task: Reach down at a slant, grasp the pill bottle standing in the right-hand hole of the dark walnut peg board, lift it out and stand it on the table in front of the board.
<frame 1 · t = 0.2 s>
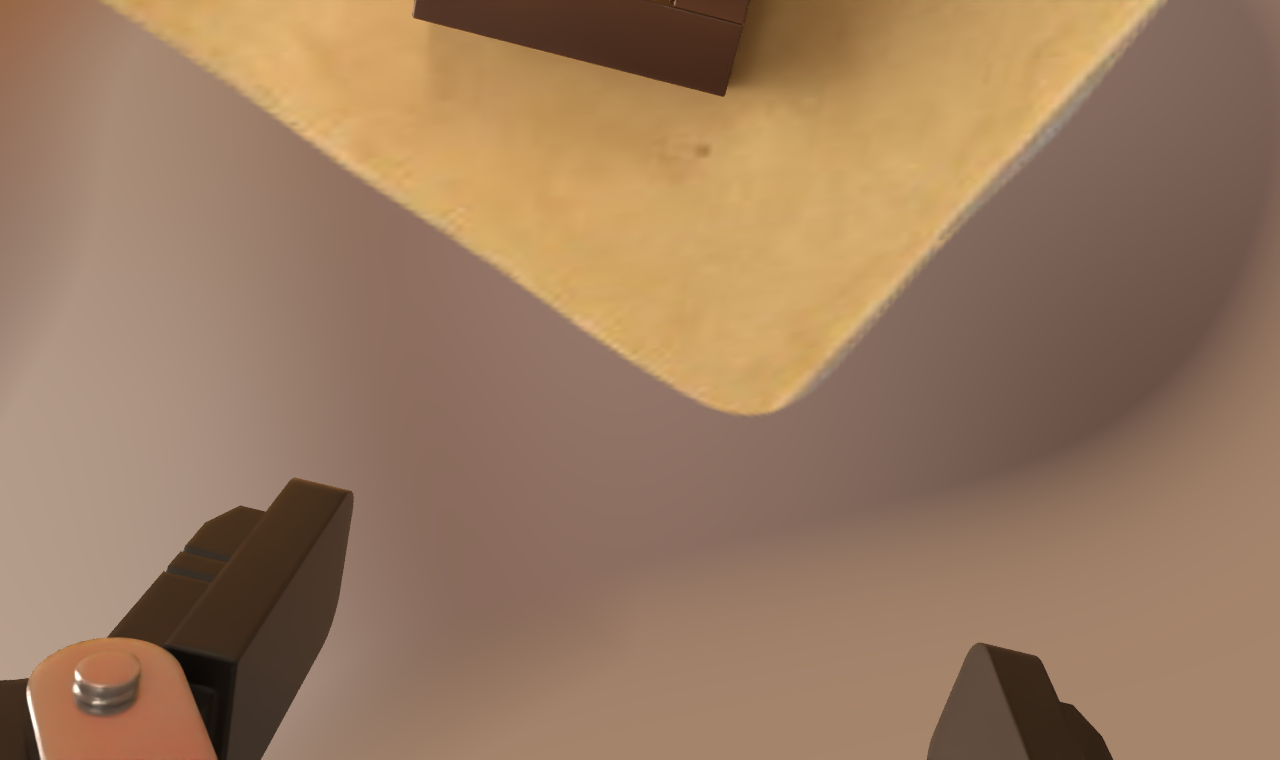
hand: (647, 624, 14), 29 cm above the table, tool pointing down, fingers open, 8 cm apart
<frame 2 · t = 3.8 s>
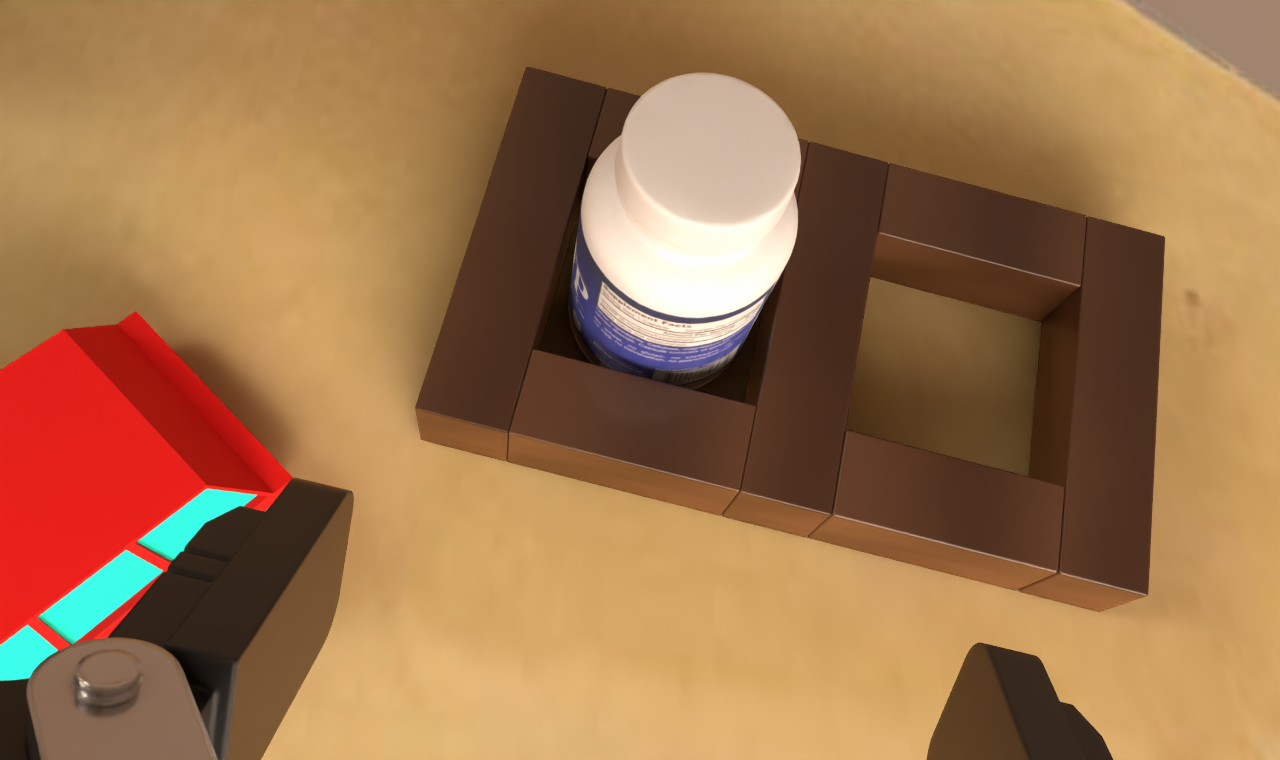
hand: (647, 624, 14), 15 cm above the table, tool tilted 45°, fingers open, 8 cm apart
pill bottle: (655, 317, 32), resting in peg board
toy car: (27, 566, 28), on the table
peg board: (796, 351, 32), on the table
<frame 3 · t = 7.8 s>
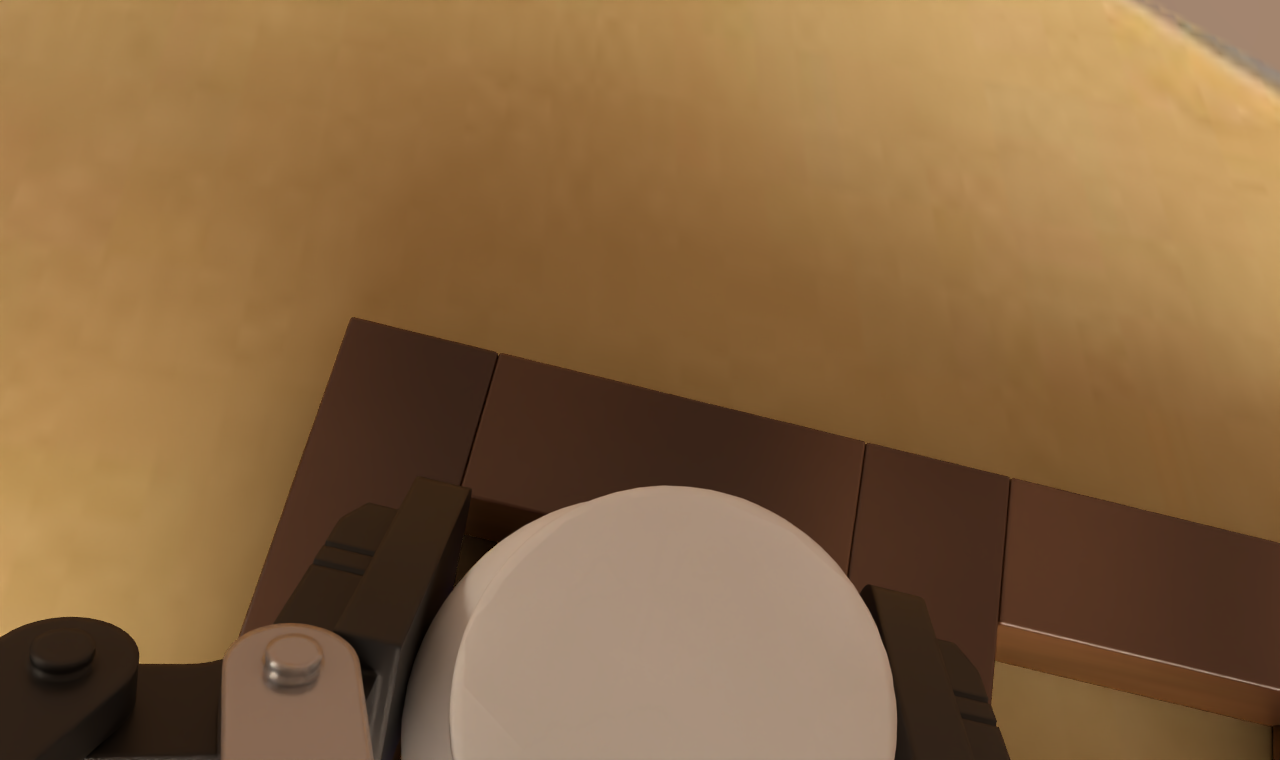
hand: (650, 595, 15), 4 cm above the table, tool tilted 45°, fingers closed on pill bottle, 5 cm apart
pill bottle: (594, 757, 18), resting in peg board, touching gripper
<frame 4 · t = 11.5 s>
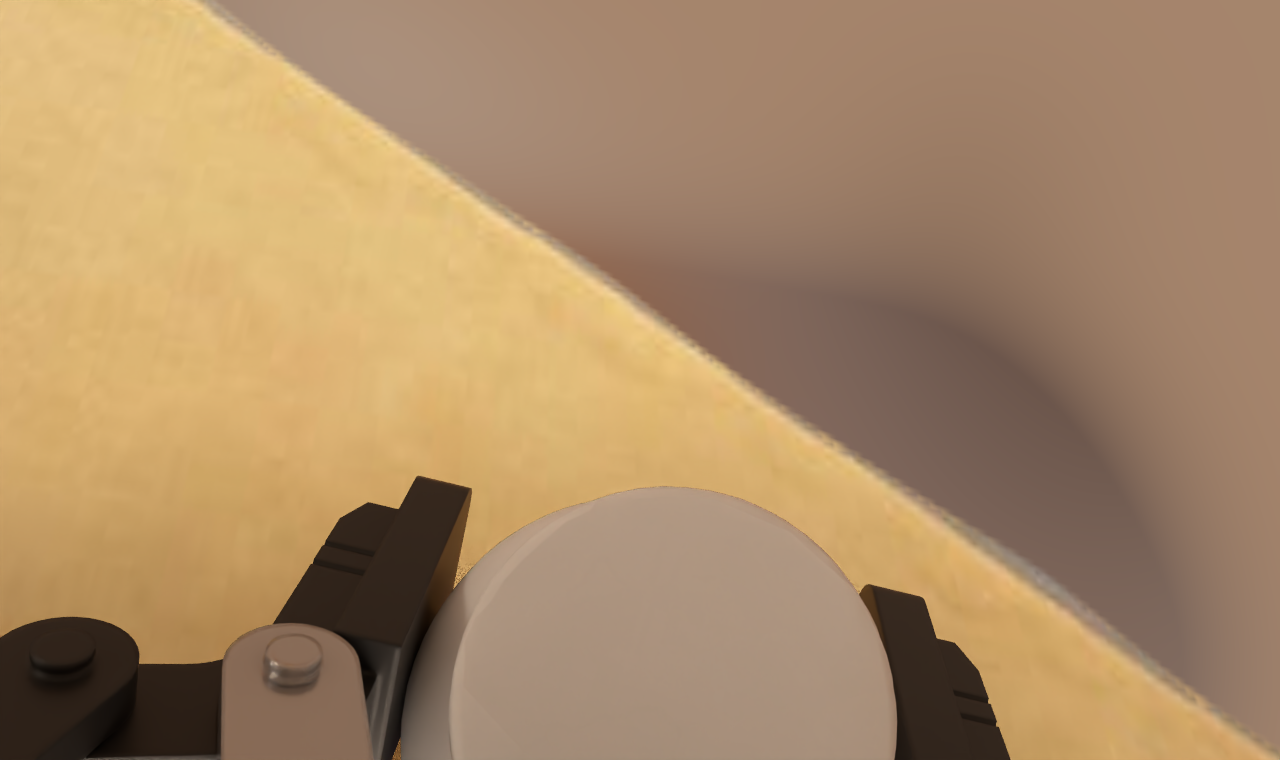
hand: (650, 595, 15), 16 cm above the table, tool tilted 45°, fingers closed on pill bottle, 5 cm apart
pill bottle: (594, 757, 18), point 12 cm above the table, touching gripper
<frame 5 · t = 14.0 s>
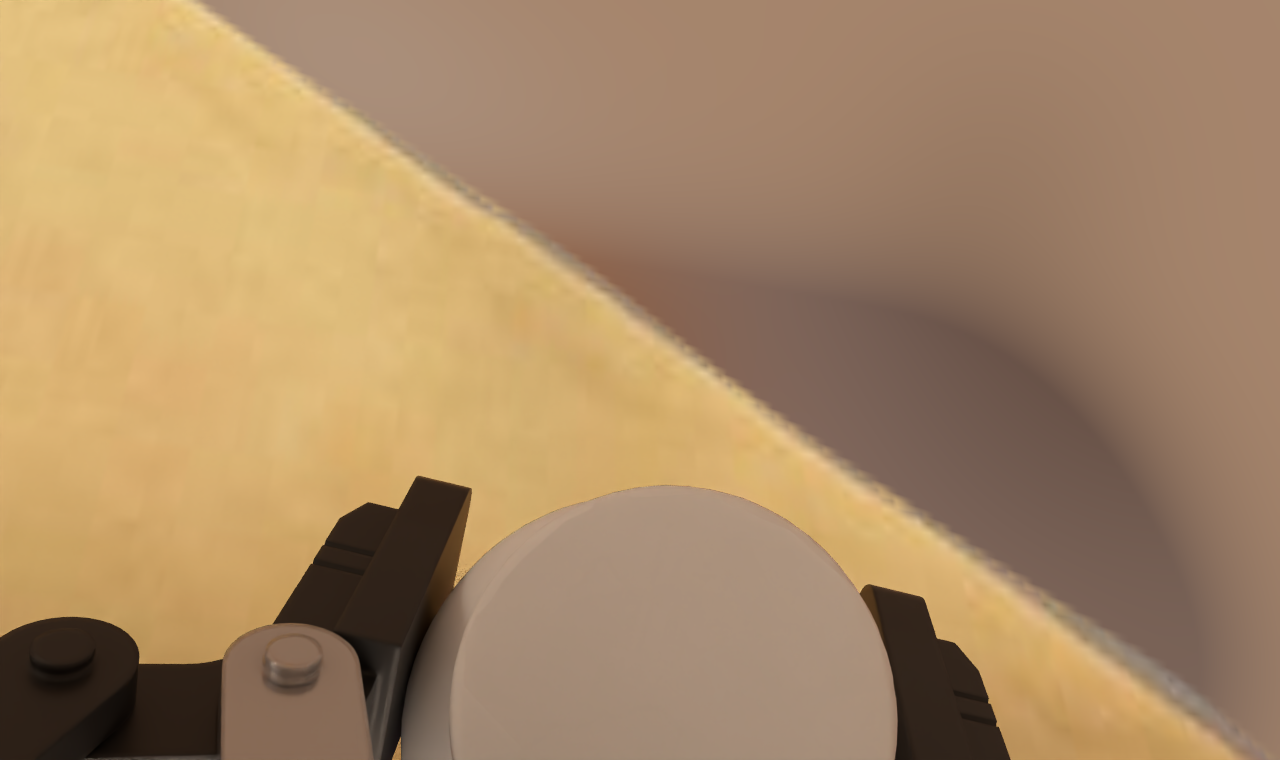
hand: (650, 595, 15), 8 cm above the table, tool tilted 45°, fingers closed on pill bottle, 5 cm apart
pill bottle: (594, 757, 18), point 4 cm above the table, touching gripper
when the fingers open (4 cm above the table, at t = 15.6 s): pill bottle stays where it is, on the table.
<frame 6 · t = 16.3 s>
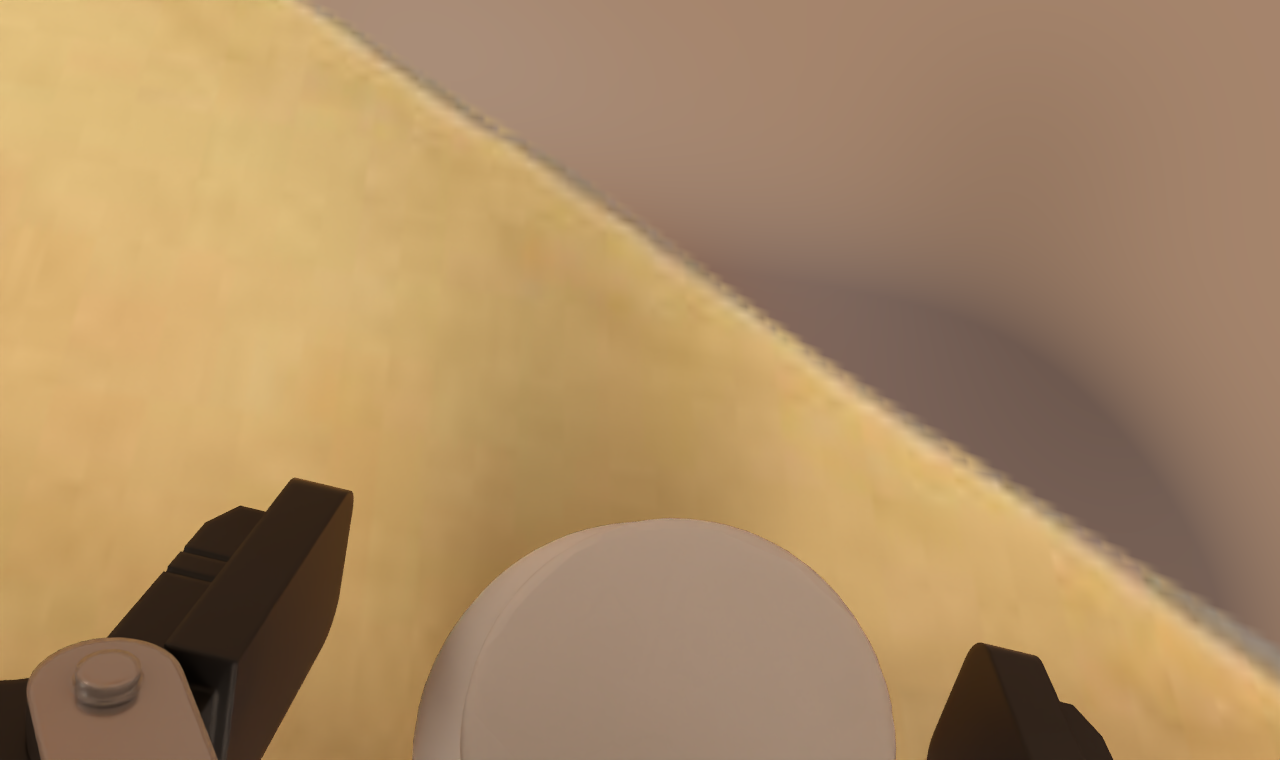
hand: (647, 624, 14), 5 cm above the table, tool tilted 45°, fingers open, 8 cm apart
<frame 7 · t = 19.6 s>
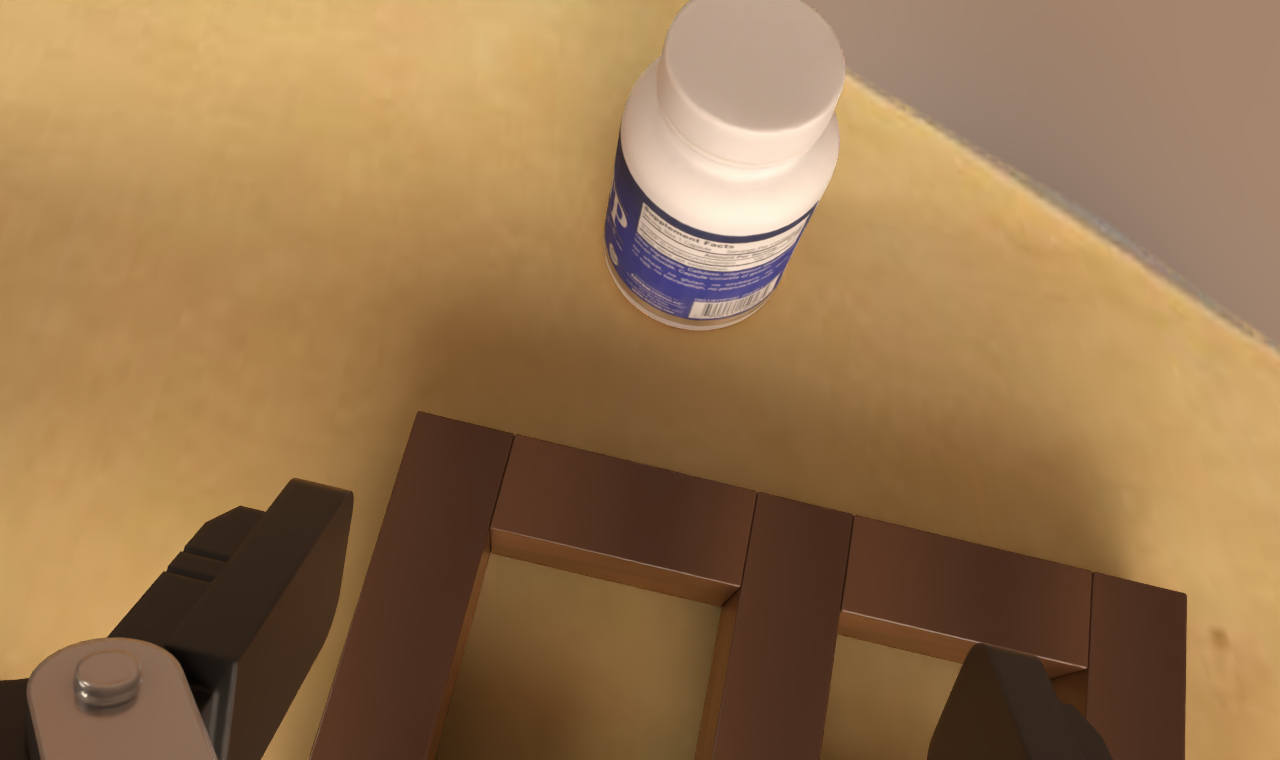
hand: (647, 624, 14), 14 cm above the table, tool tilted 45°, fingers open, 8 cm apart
pill bottle: (691, 255, 32), on the table
peg board: (747, 739, 27), on the table
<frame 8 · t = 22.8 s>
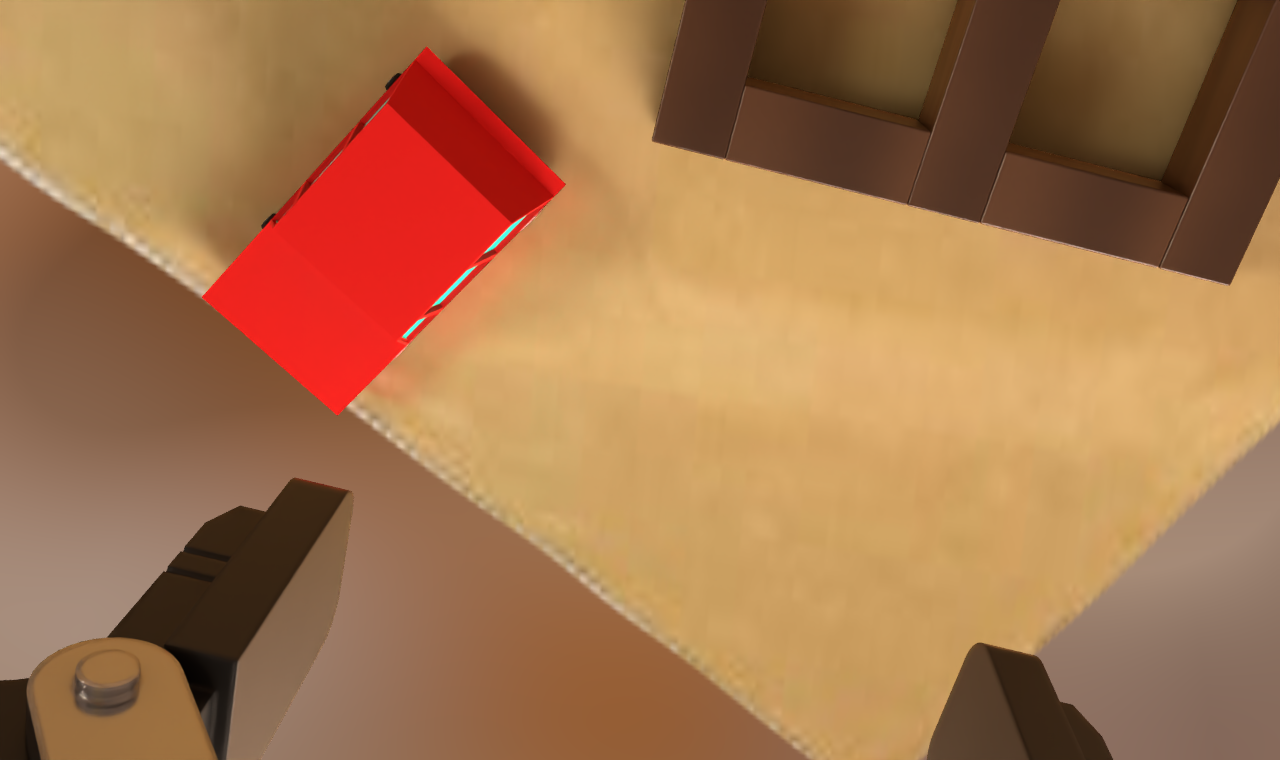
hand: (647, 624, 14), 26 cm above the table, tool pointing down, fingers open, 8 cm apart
toy car: (391, 227, 40), on the table
peg board: (984, 36, 36), on the table
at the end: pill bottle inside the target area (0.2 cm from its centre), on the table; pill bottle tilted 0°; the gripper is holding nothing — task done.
